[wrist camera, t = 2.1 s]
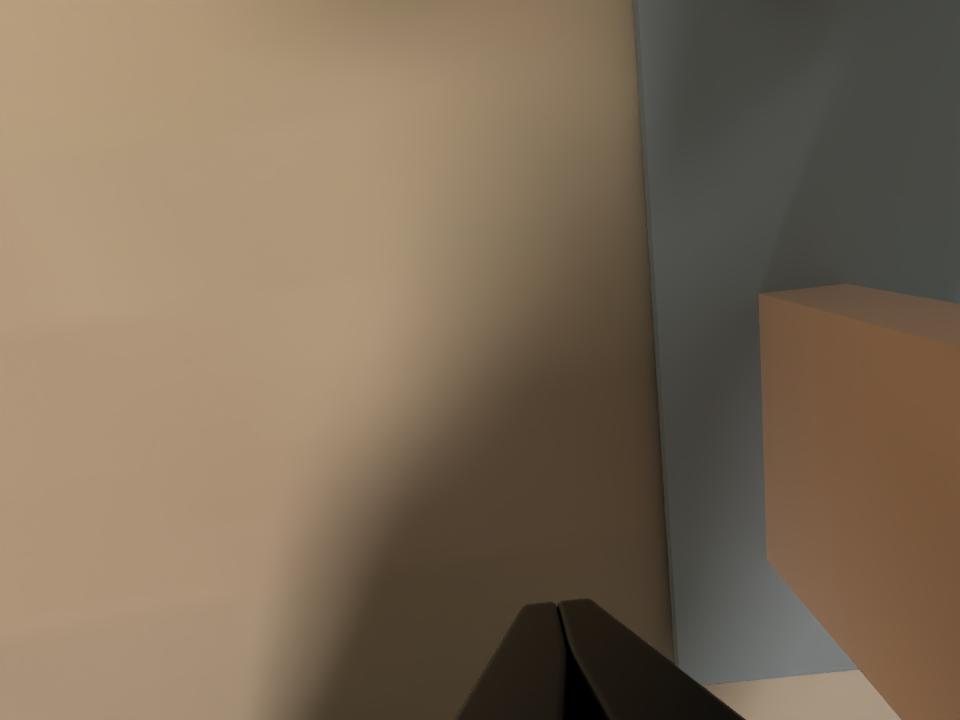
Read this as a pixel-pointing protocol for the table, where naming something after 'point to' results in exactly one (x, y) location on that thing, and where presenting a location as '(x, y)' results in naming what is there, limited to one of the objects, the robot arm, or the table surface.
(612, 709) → the robot arm
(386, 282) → the table surface
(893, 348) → the tile
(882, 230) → the slate mat
